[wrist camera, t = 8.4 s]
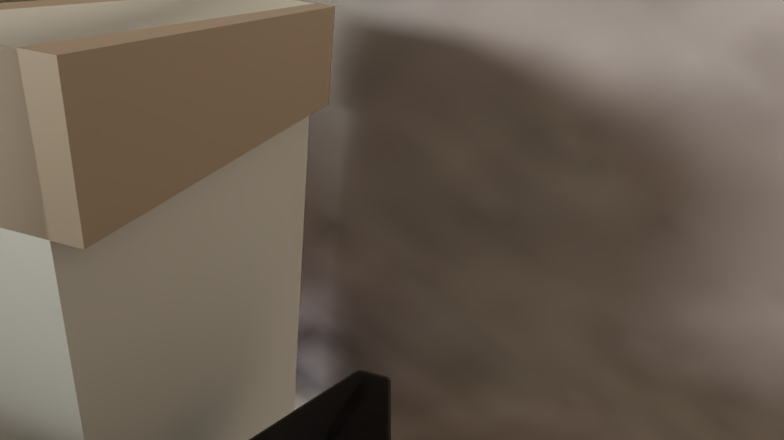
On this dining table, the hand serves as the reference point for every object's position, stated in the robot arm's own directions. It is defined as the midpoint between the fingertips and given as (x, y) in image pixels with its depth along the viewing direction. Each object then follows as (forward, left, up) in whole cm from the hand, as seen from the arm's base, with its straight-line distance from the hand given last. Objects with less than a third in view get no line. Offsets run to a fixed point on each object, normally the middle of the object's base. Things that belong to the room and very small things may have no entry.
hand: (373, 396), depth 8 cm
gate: (-3, -2, -2) cm, 4 cm away
